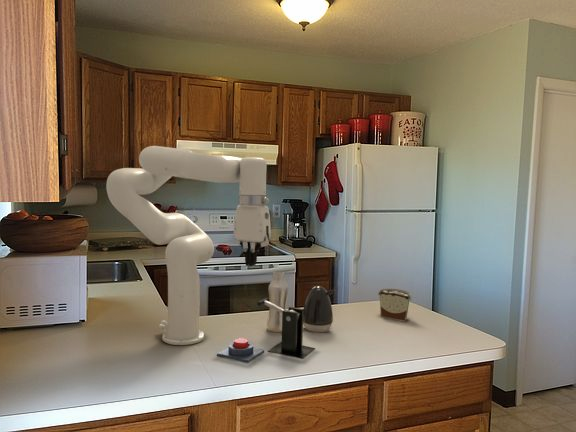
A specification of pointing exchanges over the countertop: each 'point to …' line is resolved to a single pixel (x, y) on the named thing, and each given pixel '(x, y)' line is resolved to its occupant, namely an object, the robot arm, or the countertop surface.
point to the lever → (273, 306)
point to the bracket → (292, 335)
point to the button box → (241, 353)
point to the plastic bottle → (277, 301)
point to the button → (241, 343)
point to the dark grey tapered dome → (318, 310)
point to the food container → (394, 303)
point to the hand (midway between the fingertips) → (250, 265)
